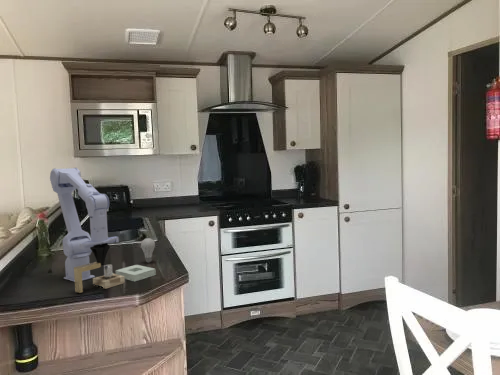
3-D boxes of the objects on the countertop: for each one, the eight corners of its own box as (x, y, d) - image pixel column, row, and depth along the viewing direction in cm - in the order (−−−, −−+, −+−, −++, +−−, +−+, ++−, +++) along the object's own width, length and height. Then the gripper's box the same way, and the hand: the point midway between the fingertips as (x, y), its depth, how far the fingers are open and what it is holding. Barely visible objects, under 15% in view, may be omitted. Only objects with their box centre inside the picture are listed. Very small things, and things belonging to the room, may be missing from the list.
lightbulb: (141, 265, 172) (140, 240, 171) (141, 261, 178) (140, 237, 177) (156, 263, 174) (155, 239, 173) (155, 260, 180) (154, 236, 179)
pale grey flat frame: (115, 276, 155) (115, 270, 155) (136, 270, 163) (136, 264, 163) (134, 281, 148) (134, 275, 148) (155, 275, 156) (155, 268, 156)
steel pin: (102, 284, 146) (101, 265, 145) (110, 282, 148) (109, 263, 148) (107, 285, 144) (106, 266, 144) (114, 283, 146) (113, 265, 146)
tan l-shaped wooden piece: (75, 291, 137) (73, 267, 137) (97, 285, 144) (96, 261, 143) (79, 293, 136) (78, 268, 135) (101, 286, 142) (100, 262, 142)
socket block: (93, 285, 145) (92, 278, 145) (112, 279, 152) (111, 273, 152) (105, 288, 141) (105, 281, 140) (124, 282, 147) (124, 276, 147)
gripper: (86, 232, 134) (88, 271, 135) (122, 225, 146) (124, 261, 147) (75, 230, 139) (77, 268, 139) (111, 224, 150) (113, 259, 151)
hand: (100, 264), depth 143 cm, fingers closed
